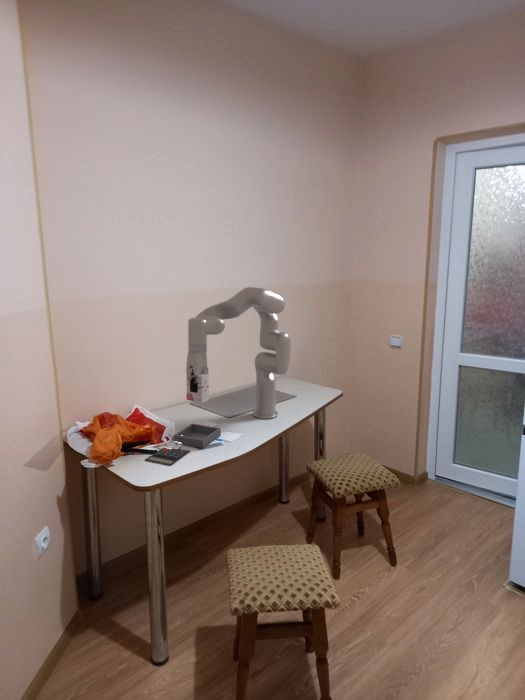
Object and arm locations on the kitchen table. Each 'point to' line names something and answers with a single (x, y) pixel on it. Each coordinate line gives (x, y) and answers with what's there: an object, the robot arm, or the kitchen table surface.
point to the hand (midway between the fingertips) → (197, 389)
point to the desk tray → (197, 435)
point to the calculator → (167, 456)
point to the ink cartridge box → (200, 388)
